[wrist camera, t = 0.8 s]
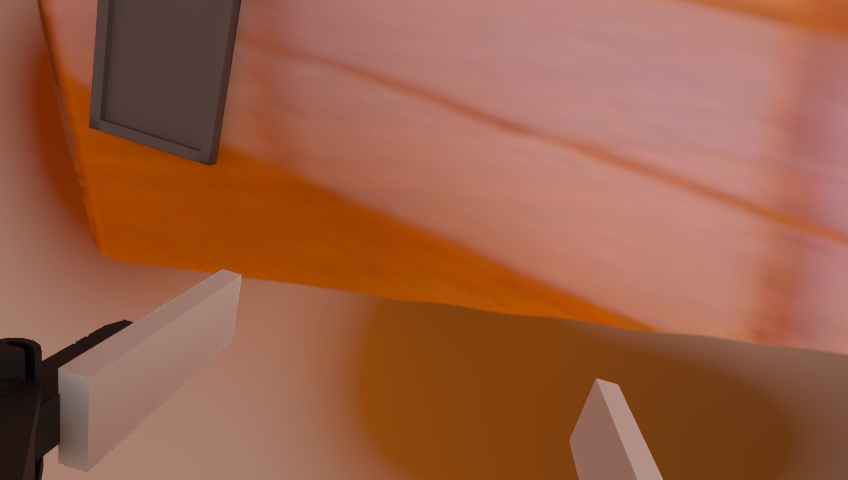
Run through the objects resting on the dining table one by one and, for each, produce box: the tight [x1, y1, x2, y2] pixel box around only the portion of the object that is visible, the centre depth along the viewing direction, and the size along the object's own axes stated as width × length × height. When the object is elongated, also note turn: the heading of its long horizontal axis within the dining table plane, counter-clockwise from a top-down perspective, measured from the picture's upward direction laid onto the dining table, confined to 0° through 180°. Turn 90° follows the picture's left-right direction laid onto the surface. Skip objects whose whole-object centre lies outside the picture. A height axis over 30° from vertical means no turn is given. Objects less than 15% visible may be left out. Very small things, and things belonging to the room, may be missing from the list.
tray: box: [89, 0, 241, 165], centre depth 40 cm, size 16×12×1 cm
